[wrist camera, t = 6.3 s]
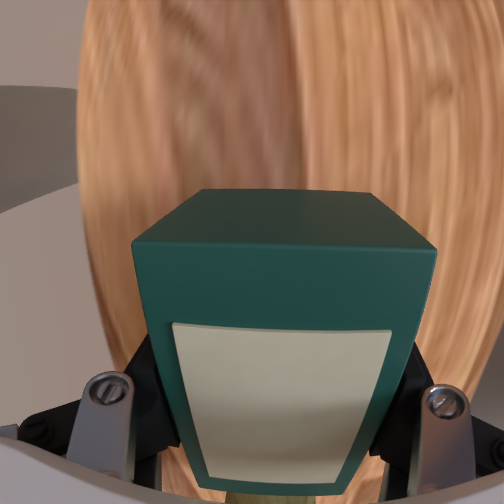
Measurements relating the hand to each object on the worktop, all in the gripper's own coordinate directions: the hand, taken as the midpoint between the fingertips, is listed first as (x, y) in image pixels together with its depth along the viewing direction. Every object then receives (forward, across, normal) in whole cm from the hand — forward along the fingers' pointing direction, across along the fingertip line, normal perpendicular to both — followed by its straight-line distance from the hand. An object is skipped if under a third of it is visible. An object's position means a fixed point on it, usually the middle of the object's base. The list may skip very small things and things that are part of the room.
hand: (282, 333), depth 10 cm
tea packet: (+1, 0, 0) cm, 1 cm away
